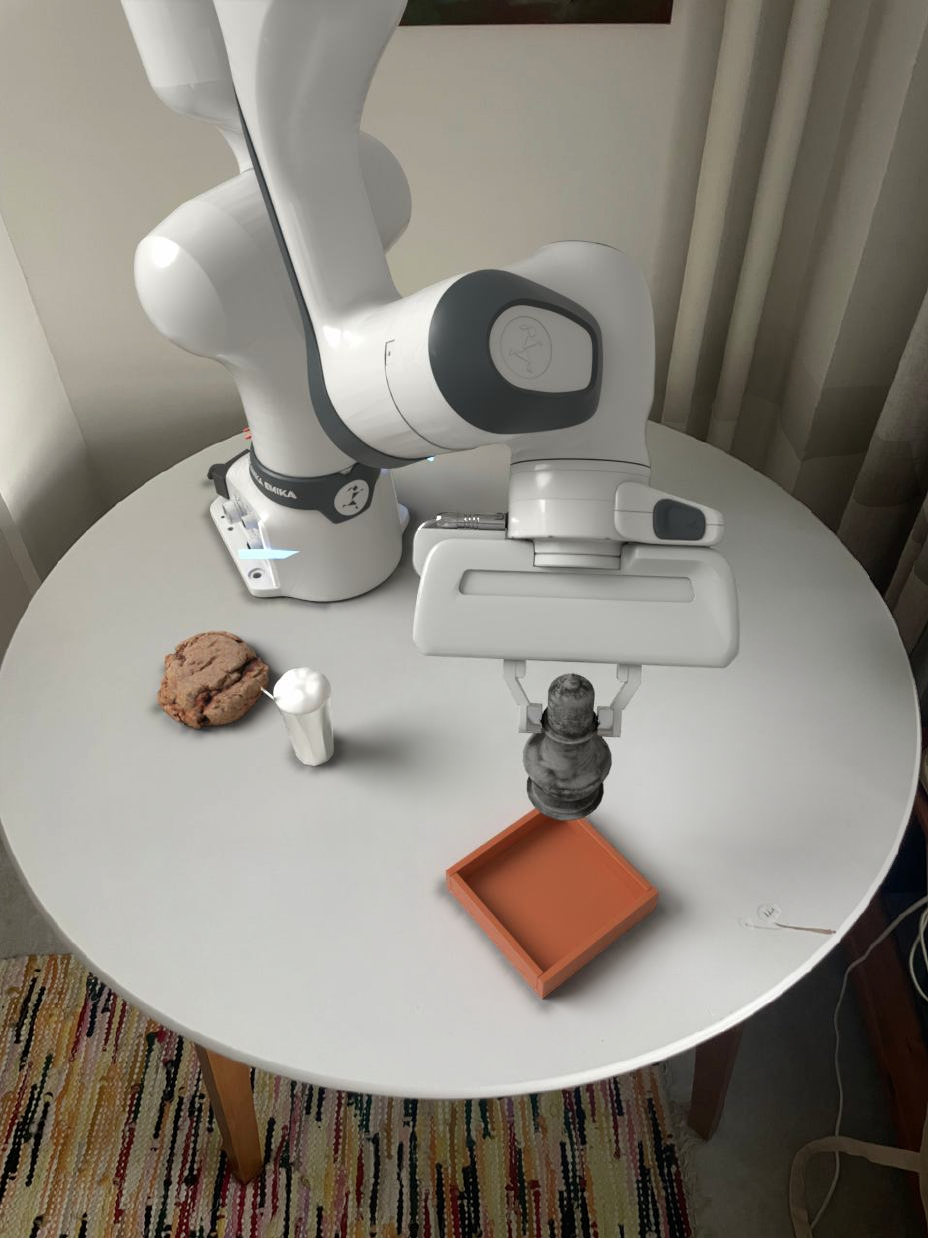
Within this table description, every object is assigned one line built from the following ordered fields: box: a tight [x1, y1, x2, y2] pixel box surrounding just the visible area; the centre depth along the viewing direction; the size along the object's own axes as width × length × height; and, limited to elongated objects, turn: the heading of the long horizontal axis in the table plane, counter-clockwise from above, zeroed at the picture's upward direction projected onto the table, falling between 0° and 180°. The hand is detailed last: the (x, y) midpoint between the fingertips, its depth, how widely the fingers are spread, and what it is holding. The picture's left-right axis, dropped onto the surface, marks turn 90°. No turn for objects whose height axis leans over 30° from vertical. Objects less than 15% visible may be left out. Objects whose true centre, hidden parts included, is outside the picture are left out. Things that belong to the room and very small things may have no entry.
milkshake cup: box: [260, 667, 335, 767], centre depth 84 cm, size 4×5×10 cm
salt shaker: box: [522, 672, 613, 821], centre depth 66 cm, size 6×6×12 cm
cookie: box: [157, 630, 270, 730], centre depth 92 cm, size 10×11×3 cm
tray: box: [445, 807, 660, 1000], centre depth 77 cm, size 11×11×2 cm
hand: (569, 734), depth 65 cm, fingers closed on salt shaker, 3 cm apart
